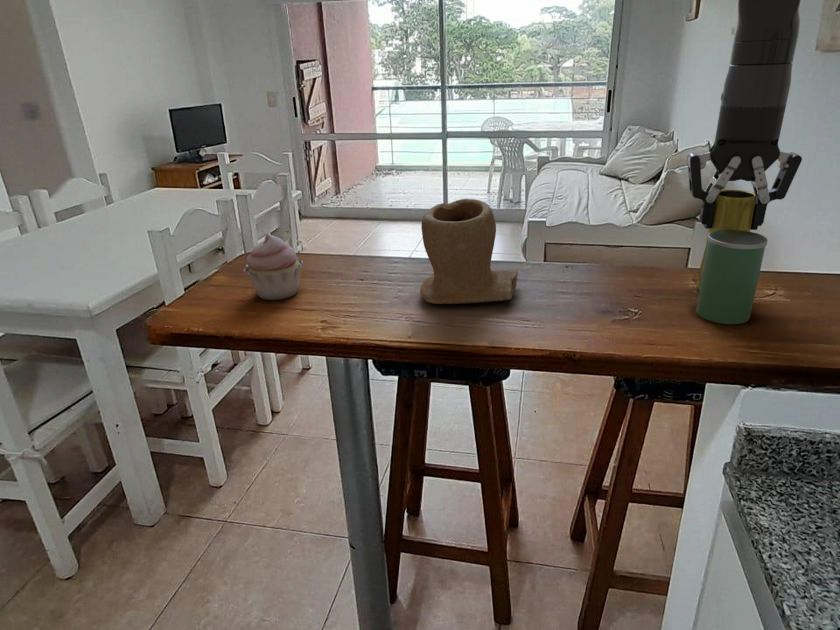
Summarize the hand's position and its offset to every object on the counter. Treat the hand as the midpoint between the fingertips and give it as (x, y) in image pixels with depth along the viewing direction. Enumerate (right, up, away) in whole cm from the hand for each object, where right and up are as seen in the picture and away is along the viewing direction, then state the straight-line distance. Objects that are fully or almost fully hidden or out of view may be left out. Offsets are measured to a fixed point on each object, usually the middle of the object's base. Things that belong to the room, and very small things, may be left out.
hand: (729, 227), depth 82 cm
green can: (-3, -12, -3) cm, 13 cm away
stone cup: (-37, -10, +5) cm, 38 cm away
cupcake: (-67, -9, +11) cm, 69 cm away
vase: (0, -9, +4) cm, 10 cm away
